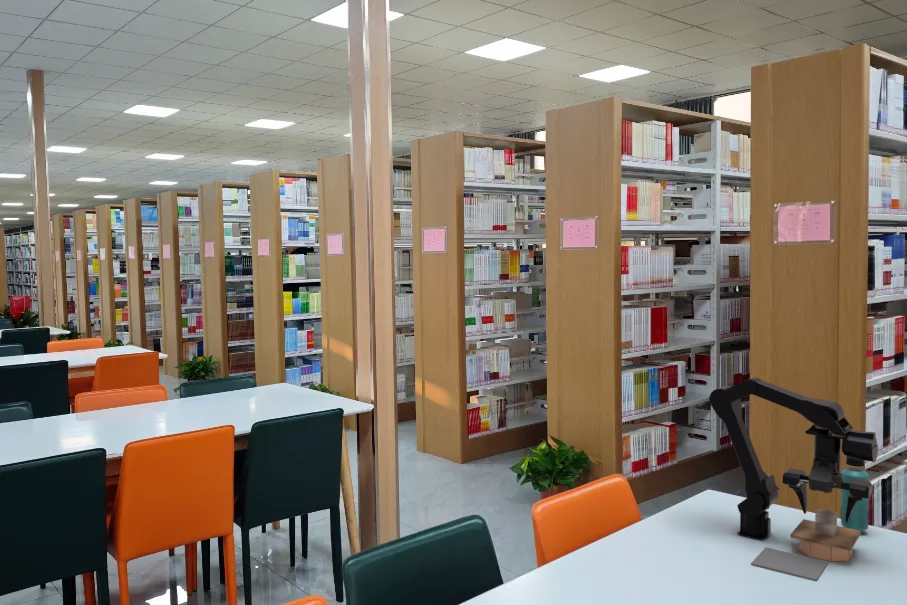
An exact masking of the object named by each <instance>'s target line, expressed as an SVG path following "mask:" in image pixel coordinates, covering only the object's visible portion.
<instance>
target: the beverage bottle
mask: <svg viewBox="0 0 907 605" xmlns="http://www.w3.org/2000/svg"><path fill="white" fill-rule="evenodd" d="M845 459H846V461H845V464H846V465H848V466H849V467H846V468H844V469H843V470H842V471H840V473H842V477H843V481H845V482H852V480H853V479H858V480H864V481H869V477H870V475H869V473H868V472H867V471H866V470H864V469H862V468H859V467H864V466H865V462H864V460H858V459H852V458H847V457H846V458H845ZM851 466H852V467H851ZM840 493H841V494H840V523H841V525H842V526H841V527H845V528H850V529H855V530H860V531H865V530H867V529H868V528H869V524H870V511H869V504H870V497H869V498H864V499H863V500H862V501H859V500H858V501H857V502H856V504H855V506H854V508H853V511H852V513H851V516H850V518H849V520H848V522H846V510H847V504H848V496H849V495H850V492H849V490H844V489H841V490H840Z"/></svg>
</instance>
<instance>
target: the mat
mask: <svg viewBox="0 0 907 605" xmlns="http://www.w3.org/2000/svg"><path fill="white" fill-rule="evenodd" d="M750 565H751V566H754V567H757V568H762V569H765V570H770V571H772V572H773V571H774V572H778V573H782V574H786V575H789V576H794V577H797V578H803V579H807V580H810V581H813V582H818V580H819V579H820V577H821V576H822V574H823V573H824V571H825V570H826V568H827V566H828V565H829V561H827V560H823V559H818V558H814V557H811V556H805V555H801V554H797V553H793V552H788V551H784V550H780V549H777V548H776V549H775V548H770V547H764V548H763V550H762V551H761V552H759V554H758V555H757V556H756V557H755V558H754V559H753V560H752V561H751V562H750Z"/></svg>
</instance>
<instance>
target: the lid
mask: <svg viewBox="0 0 907 605" xmlns="http://www.w3.org/2000/svg"><path fill="white" fill-rule="evenodd" d="M814 514H815V515H814V516H815V517H814V521H813V520H809V519H804V518H803V519H802V520H801V521H800V522H799V524H798V525H797V526H796V527H795V528H794V529H793V531H792V532H791V533H790V535H789V536H790V538H791V539H795V540H799V541H800V540H804V541H808V542H813V543H818V544H822V545H827V546H831V547H836V548H840V549H845V550H850V551H851V550H852V551H853V548H854V546H855V545H856V542H857V541H858V540H859V538H860V537H861V535H862V530H855V529H850V528H846V527H844V526H839V525H838V512H837V511H834V510H831V509H829V510H828V509H824V508H818V509H817V510H816V512H815V513H814Z"/></svg>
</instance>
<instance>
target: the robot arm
mask: <svg viewBox="0 0 907 605" xmlns="http://www.w3.org/2000/svg"><path fill="white" fill-rule="evenodd" d="M751 395H753V396H756V397H758V398H761V399H763V400H766V401H769V402H771V403H773V404H776V405H778V406H781V407H783V408H786V409H789V410H790V411H794V412H796V413H798V414H799V415H801V416H802V417H803V418H805V419H806V420H807V421H809V422H810V423H812V425H811V426H810V427H809V428H808V429H806V430H805V434H806V435H812V436H814V441H813V444H814V445H813V461H812V466H811V469H810V472H809V474H806V471H805V469H798V468H792V467H790V468H788V469H787V470H786V471H785V472H784V473H783V474H782V484H784V485H787V486H788V488H789V489H792V490H793V491H794V493H795V494H796V496H797V498H798V501H799V503H800V506H801V509H802V512H803V514H807V511H808V510H807V508H808V498H807V496H808V495H807V484H808V488H809V490H810V491H815V492H816V491H817V492H822V493H826V494H830V493H832V491H833V489H839V490H842V489H844V490H849V492H850V495H849V496H848V504H847V510H846V522H848V520H849V518H850V516H851V513H852V511H853V508H854V506H855V504H856V502H857V501H858V500H859V501H862V500H863V499H864V498H869V499H870V496H872V493H873V484H872V482H871V481H869V480H868V481H864V480H858V479H853V480H852V482H845V481H843V477H842V473H841V456H842V455H841V454H842V453H843V455H844V456H846V459H847V458H852V459H858V460H864V461H866V462H872V463H875V462H876V461H877V460H878V459H877V458H878V452H879V444H878V440H877V437H876V432H874V431H861V430H854V428H853V426H852V424H851V423H850V422H849V420H848V419H847V417H846V416H845V412H844V409H843V407H842V406H841V405H840V404H839V403H838V402H835V401H830V400H826V399H823V398H815V397H814V398H813V397H808V396H805V395H802V394H799V393H797V392H794V391H791V390H788V389H786V388H784V387H781V386H779V385H775V384H773V383H771V382H767V381H764V380H763V379H761V378H760V377H756V376H755V377H750V378H747V379H745V380H744V381H743V382H741V383H738V384H736V385H733V386H731V385H724V386H721V387H718V388H716V389H713V390H712V391H711V392H710V394H709V396H708V400H709V404H710V405H711V408H712V409H713V411H714V413H715V415H716V416H717V417H718V418H719V419H720V420H721V421H722V422H723V423H724V426H725V427H726V430H727V433H728V435H729V438H730V442H731V444H732V446H733V449H734V451H735V454H736V456H737V459H738V462H739V464H740V467H741V469H742V472H743V474H744V475H743V476H744V491H745V496H746V498H745V499H743V501H742V500H741V502H740V503H738V504H737V509H738V512H739V531H738V532H737V535H739V536H742V537H747V538H751V539H756V540H760V541H764V540H766V538H767V537H768V536H770V534H771V530H772V529H771V526H772V522H771V520H772V519H771V518H770V517H769V514H770V513H769V511H767V510H769V509H770V507H771V506H772V505H773V504H775V503H776V502H777V500H778V498H779V490H780V487H779V486H777V483H776V481H775V476H774V474H771V475H768V474H767V473H765V471H764V470H763V468H762V465H761V464H760V460H759V457H758V456H757V453H756V451H755V448H754V445H753V441H751V438H750V435H749V433H748V430H747V427H746V425H745V423H744V420H743V405H742V399H743V398H746V397H749V396H751ZM841 452H842V453H841Z"/></svg>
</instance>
